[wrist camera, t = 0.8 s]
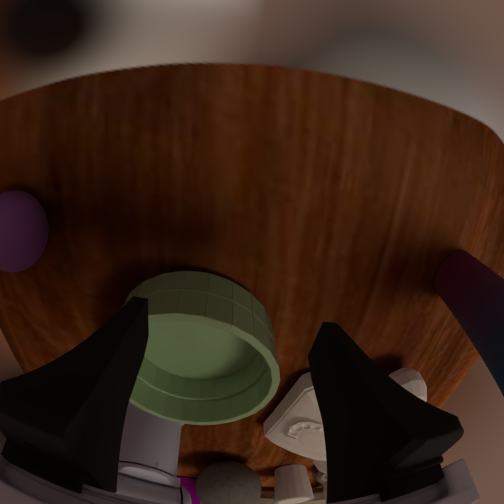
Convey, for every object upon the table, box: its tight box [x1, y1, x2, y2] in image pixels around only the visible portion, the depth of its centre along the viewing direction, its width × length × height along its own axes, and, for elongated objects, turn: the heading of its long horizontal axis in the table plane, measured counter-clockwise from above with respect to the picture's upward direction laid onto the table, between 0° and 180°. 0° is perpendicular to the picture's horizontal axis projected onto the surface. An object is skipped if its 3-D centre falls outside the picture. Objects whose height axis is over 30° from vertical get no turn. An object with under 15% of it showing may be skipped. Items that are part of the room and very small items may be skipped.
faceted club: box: [257, 488, 326, 504], centre depth 44 cm, size 9×8×25 cm
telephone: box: [263, 367, 427, 474], centre depth 27 cm, size 16×20×9 cm
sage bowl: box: [120, 271, 280, 425], centre depth 22 cm, size 13×13×6 cm
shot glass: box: [274, 464, 314, 504], centre depth 38 cm, size 7×7×7 cm
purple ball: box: [0, 190, 49, 272], centre depth 16 cm, size 6×6×6 cm
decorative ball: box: [196, 461, 261, 504], centre depth 33 cm, size 10×10×10 cm
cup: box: [434, 251, 504, 396], centre depth 17 cm, size 7×7×15 cm
